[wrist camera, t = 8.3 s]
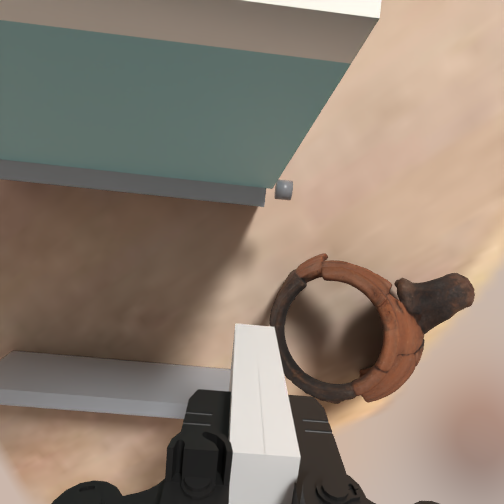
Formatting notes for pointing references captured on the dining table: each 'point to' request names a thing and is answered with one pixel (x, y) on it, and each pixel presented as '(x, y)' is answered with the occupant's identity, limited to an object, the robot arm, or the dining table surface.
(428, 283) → the brown ring with stub
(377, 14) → the cover
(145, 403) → the channel
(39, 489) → the dining table surface
